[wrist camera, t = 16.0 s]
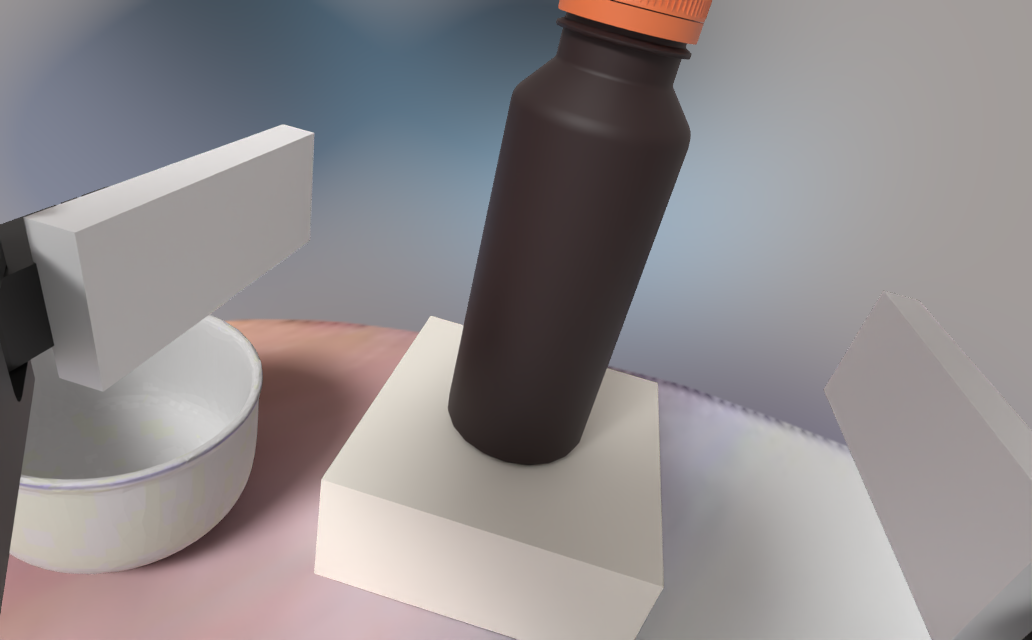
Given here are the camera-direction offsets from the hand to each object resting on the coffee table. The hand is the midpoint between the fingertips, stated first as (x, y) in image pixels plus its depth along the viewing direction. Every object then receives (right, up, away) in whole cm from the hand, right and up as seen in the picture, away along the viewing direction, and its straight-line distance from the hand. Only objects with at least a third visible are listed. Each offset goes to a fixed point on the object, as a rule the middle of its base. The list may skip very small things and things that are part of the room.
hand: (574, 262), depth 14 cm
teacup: (-20, -10, +13) cm, 26 cm away
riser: (-2, -11, +19) cm, 22 cm away
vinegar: (-1, -6, +16) cm, 17 cm away
